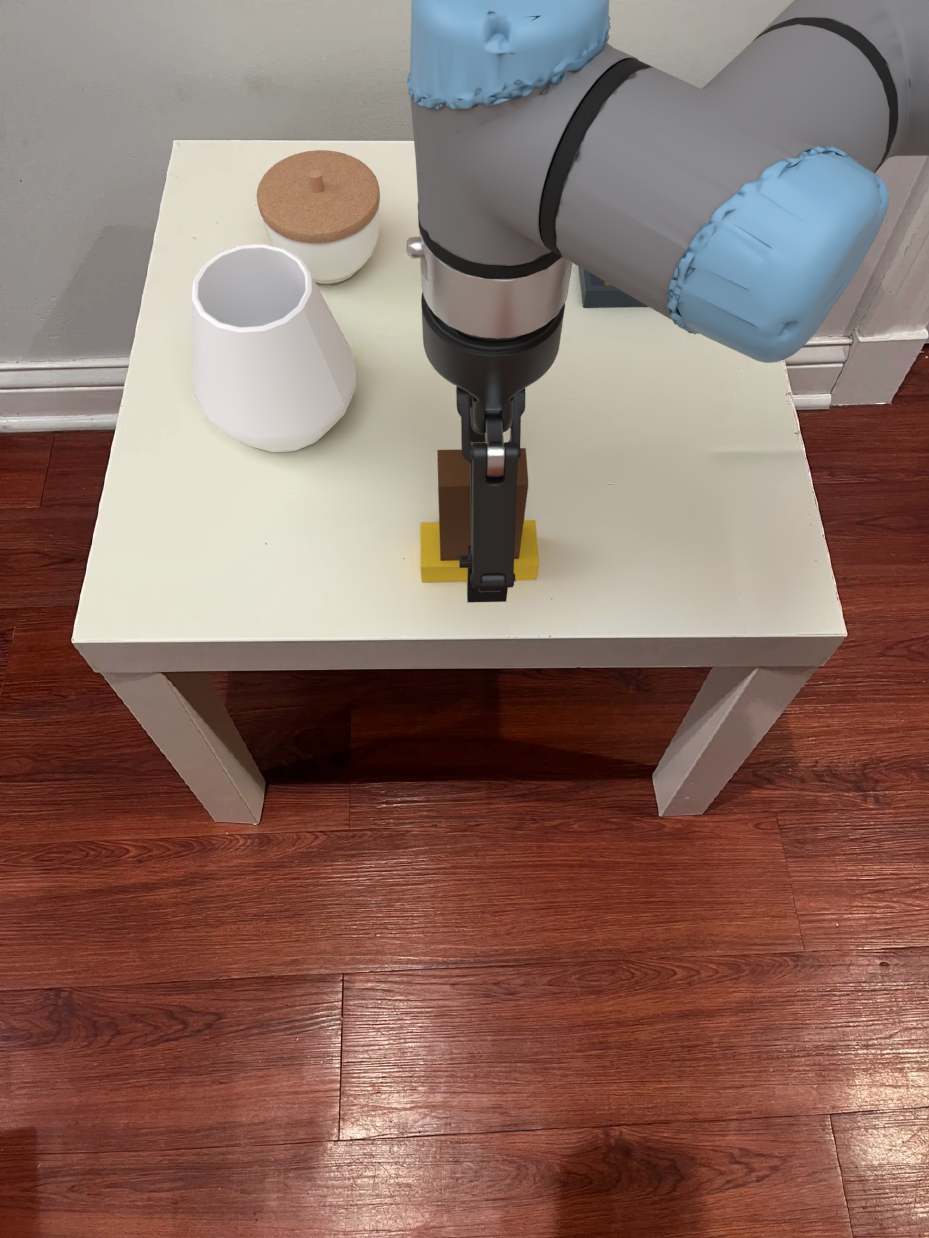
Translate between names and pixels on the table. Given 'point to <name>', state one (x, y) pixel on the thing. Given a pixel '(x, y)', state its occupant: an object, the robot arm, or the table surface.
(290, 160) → the trinket box
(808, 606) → the table surface
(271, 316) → the white vase
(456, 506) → the brush
